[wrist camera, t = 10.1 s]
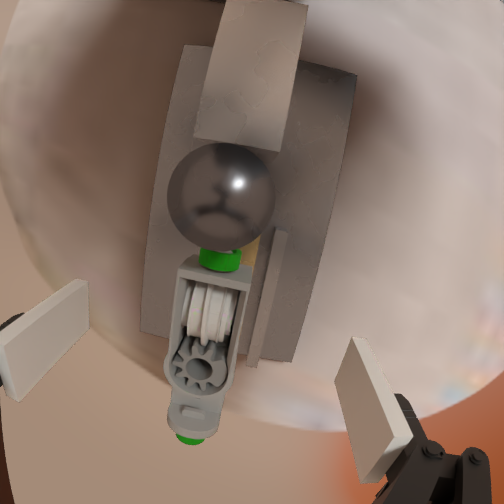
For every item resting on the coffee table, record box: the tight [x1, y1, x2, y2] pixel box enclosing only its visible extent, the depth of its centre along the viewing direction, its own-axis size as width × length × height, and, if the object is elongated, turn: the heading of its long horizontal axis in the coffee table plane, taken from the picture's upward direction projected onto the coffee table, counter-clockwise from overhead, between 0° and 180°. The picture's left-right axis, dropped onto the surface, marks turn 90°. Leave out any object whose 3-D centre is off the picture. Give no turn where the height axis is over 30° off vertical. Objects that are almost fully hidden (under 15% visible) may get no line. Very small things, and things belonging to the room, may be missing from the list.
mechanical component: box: [163, 248, 253, 445], centre depth 17 cm, size 3×10×10 cm, turn 168°
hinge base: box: [140, 0, 357, 368], centre depth 16 cm, size 22×12×13 cm, turn 169°
